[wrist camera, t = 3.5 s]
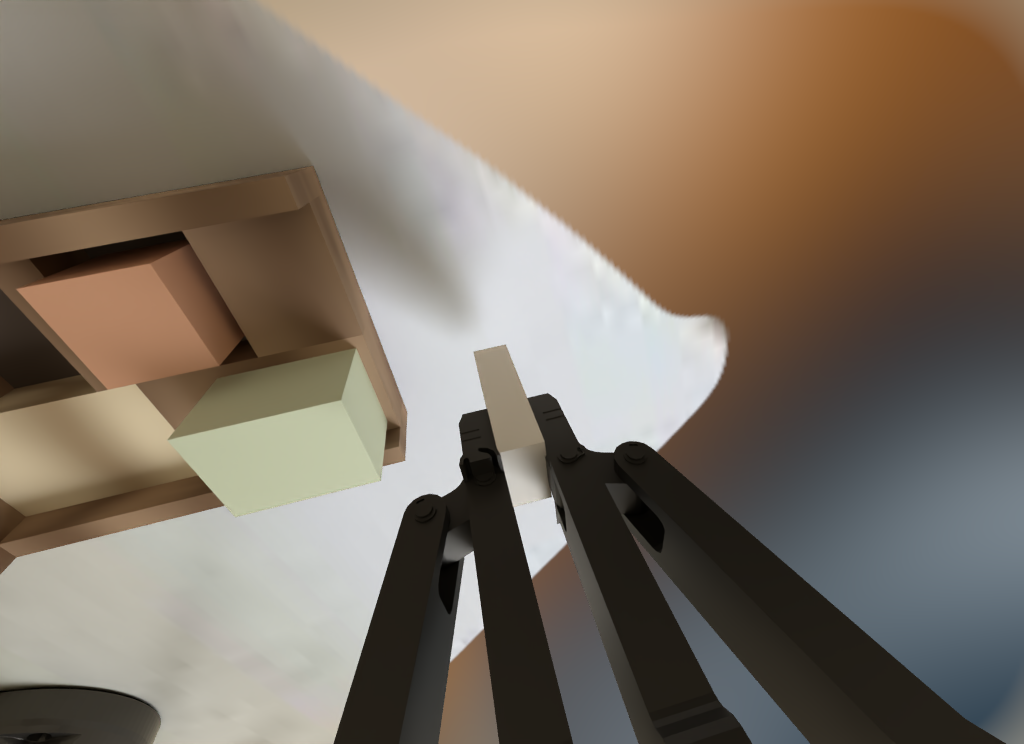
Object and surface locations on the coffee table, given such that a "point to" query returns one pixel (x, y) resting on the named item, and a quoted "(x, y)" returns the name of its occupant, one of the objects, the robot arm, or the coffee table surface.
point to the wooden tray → (167, 401)
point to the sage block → (286, 433)
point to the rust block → (138, 314)
